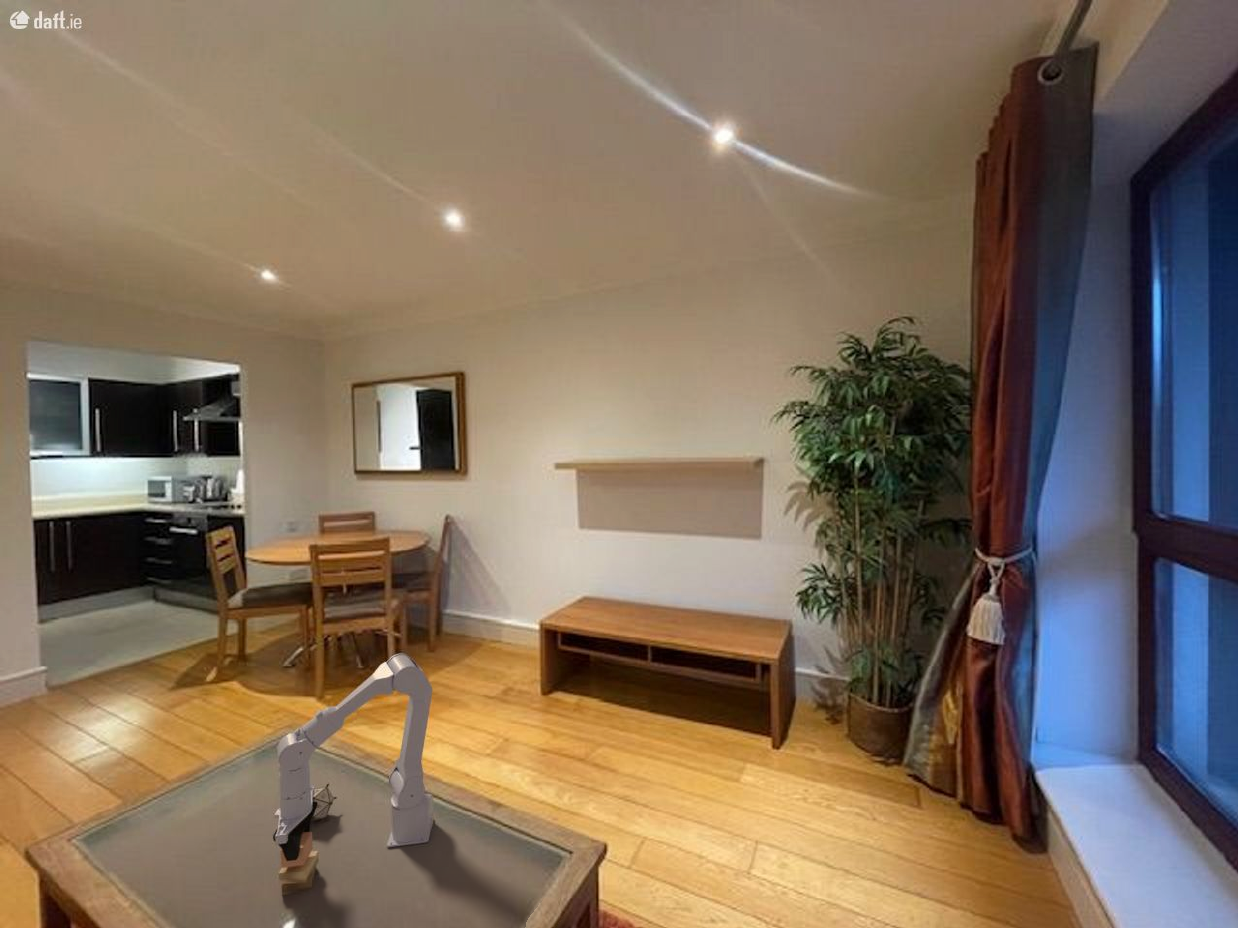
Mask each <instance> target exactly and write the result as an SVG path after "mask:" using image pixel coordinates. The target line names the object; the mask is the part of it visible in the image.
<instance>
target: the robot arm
mask: <svg viewBox="0 0 1238 928" xmlns="http://www.w3.org/2000/svg"><path fill="white" fill-rule="evenodd" d="M393 690H395V691H396V692H398V693H400V694H403V695H407V696H408V702H407V709H406V715H405V721H404V728H403V733H402V740H401V744H400V745H401V746H400V751H399V757H398V758H397V759H396V760H395V762H394V766H393V769H392V770H391V772H390V774H389V776H388V783H389V786H390V788H391V789H392V791H393V792H392V796H391V799H390V806H391V808H390V809H391V811H390V812H391V813H390V814H391V815H390V816H391V831H390V835H389V837H388V840H387V843H386V847H387V848H392V847H400V846H407V845H409V846H410V845H417V844H423V843H428V842H429V839H430V836H431V831H432V828H433V826H434V825H433V824H434V820H433V819H434V817H435V816H434V796H433V794H431V793H425V792H426V785H424V769H423V764H422V761H423V759H422V758H423V753H424V746H425V741H426V734H427V728H428V721H429V714H430V709H431V703H432V698H433V697H432V696H433V687H432V685H431V683H430V681H429V679H428V678H427V676H426V673H425V672H424V671H423V670H422V668H421V667H420V666H419V665H418V663H417V662H416V661H415V660H414V659H413V658H412V657H410V656H409V655H408V654H406V653H396V654H394V655H392V656H391V657H390V658H388V660H387V661H384V662H383V663H381V664H380V665H379V666H378V667H377V668H376V669H375V671H374V672H373V673H372V675H370V676H369V677H368V678H367V679H365V680H364V681H363V682H362V683H361V684H360V685H358V687H357V688H355V689H354V690H353V691H352V692H351V693H350V694H348V695H347V696H346V697H345V698H344V699H343V700H342V701H340V703H338V704H337V705H335V706H327V707H325V708H324V709H323V710H322V709H319V710H317V711H316V712H315V714H314V715H315V716H314V717H312V718H311V719H310V720H309V721H308V722H306V723H305V724H303V725H302V726H301V727H300V728H299V727H297V728H296V729H295V730H294V731H292V732H290V733H287V734H285V736H283V737H282V738H281V739H280V741H279V743H278V744H277V746H276V748H275V751H276V755H277V759H278V764H279V766H278V772H279V773H278V789H279V808H278V809H277V810H276V812H274V818H278V822H277V823H278V824H277V829H276V830H275V831H274V832H273V835H272V839H273V841H274V843H275V845H278V846H279V847H280V850H281V849H282V851H283V853H284V856H285V858H286V861H292V860H297V858H298V856H299V850H300V841H301V837H302V834H303V833H304V832H311V827H312V823H313V821H312V819H313V816H314V813H315V810H316V808H317V806H318V803H317V802H312V800H313V796H314V794H315V791H314V789H315V786H311V766H310V764H309V761H310V759H311V757H312V754H313V753H314V752H315V751H316V750H317V749H318V748H319V747H320V746H321V745H323V744H324V743H325V742H326V741H328V740H329V739H330V738H331V737H332V736H333V735H335V734H336V733H337V732H338V731H340V729H342V728H343V726H344V722H345V720H346V718H347V717H349V716H350V715H351V714H353V713H354V712H355V711H357V710H358V709H359V708H361V707H363V706H364V705H366V703H368V702H369V701H371V700H372V699H373V698H374V697H376V696H377V695H394V691H393Z"/></svg>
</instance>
